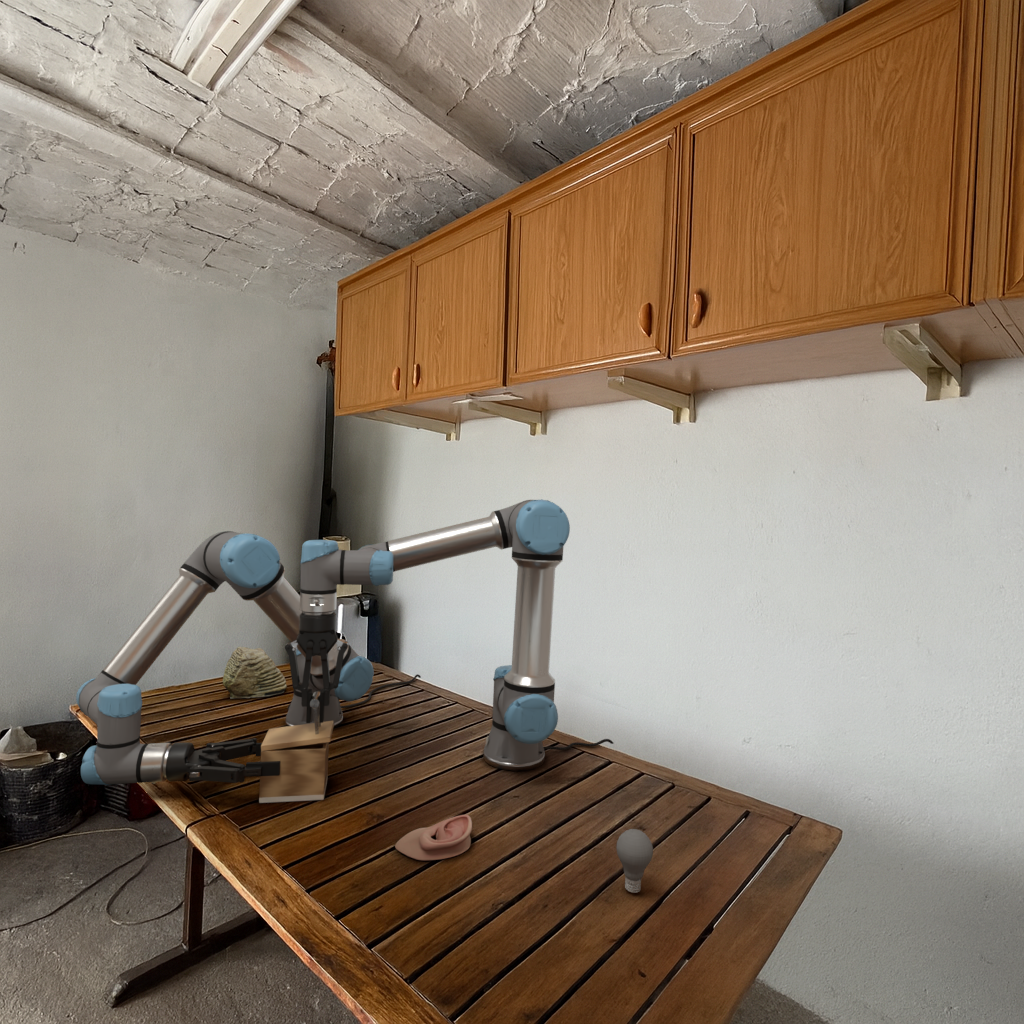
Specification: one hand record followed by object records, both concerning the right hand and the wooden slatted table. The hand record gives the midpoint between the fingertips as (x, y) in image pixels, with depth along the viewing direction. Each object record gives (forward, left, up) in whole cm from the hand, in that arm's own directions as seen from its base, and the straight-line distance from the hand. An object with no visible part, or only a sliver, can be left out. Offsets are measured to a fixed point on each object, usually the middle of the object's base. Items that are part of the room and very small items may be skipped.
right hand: (315, 720), depth 137 cm
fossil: (+8, -71, -15) cm, 73 cm away
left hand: (+6, -1, -8) cm, 10 cm away
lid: (+3, -1, -4) cm, 5 cm away
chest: (+4, -1, -15) cm, 15 cm away
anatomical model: (-18, +30, -15) cm, 38 cm away
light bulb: (-44, +55, -15) cm, 72 cm away
